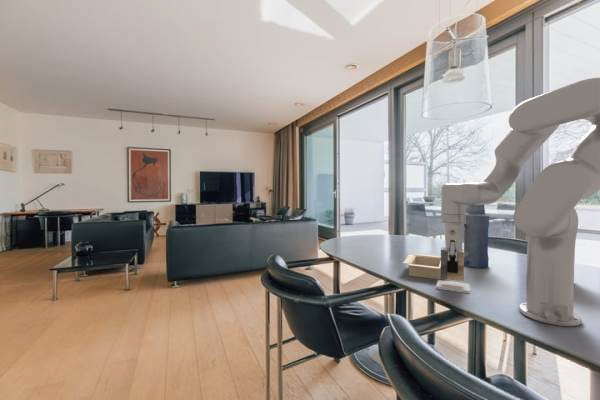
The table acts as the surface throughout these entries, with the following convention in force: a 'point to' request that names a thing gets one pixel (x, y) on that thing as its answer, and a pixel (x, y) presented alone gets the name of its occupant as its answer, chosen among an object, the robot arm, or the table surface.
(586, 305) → the table surface
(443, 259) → the block
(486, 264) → the bottle
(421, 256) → the carton
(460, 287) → the felt mat
